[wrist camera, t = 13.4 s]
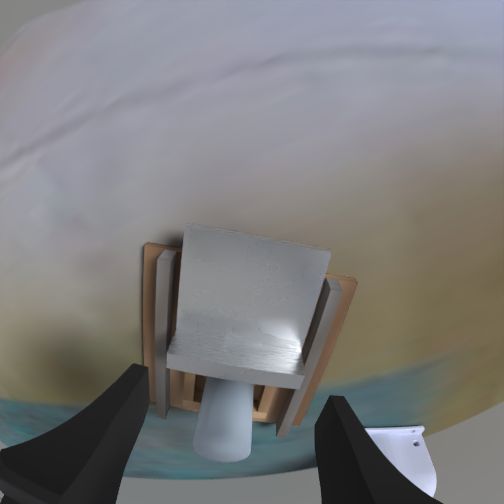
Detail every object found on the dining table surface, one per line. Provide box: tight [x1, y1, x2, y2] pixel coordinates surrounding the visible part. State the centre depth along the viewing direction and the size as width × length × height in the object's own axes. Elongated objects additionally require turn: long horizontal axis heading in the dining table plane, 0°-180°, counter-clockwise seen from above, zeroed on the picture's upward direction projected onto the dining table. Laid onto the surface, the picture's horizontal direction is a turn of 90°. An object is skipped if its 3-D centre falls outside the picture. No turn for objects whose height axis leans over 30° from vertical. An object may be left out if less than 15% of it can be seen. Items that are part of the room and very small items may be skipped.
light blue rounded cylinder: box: [193, 376, 254, 462], centre depth 20 cm, size 4×4×7 cm
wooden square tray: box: [143, 242, 357, 438], centre depth 23 cm, size 14×15×2 cm
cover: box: [166, 223, 332, 389], centre depth 18 cm, size 8×8×3 cm
